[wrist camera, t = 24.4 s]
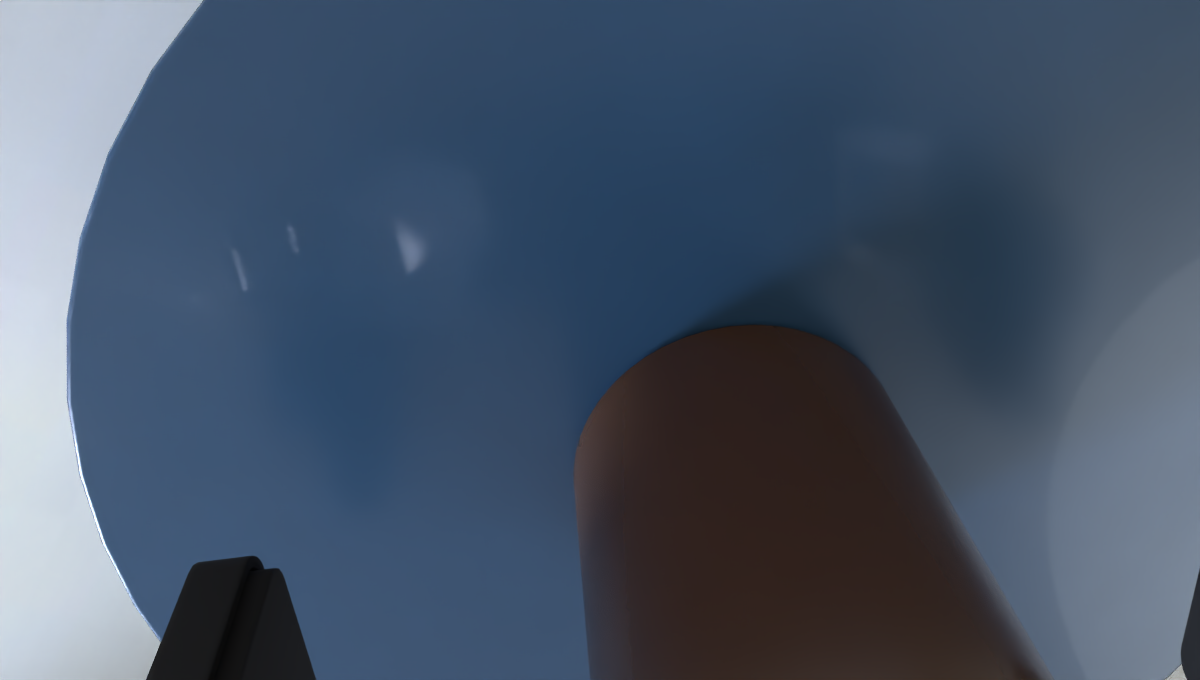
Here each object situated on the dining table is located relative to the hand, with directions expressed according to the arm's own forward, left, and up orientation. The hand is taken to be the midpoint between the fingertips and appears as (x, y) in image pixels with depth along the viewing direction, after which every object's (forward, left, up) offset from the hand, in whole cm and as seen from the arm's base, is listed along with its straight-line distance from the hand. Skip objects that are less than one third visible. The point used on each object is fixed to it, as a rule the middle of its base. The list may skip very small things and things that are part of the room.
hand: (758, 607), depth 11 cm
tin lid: (0, 0, -3) cm, 3 cm away
